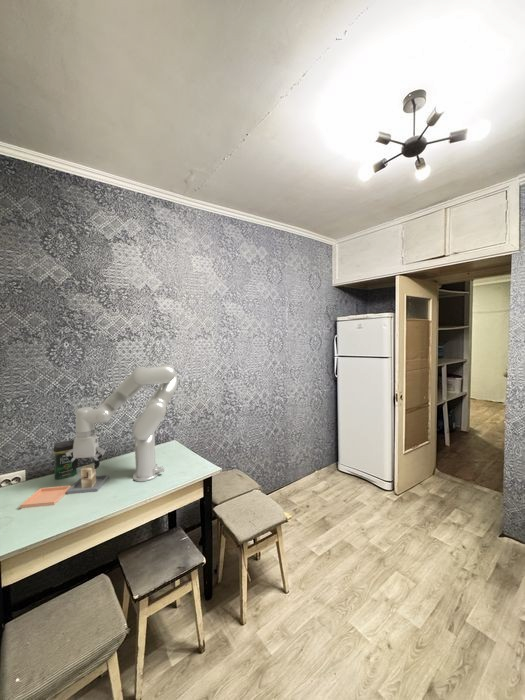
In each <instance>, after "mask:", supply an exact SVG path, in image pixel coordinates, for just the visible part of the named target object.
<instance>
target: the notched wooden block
mask: <svg viewBox="0 0 525 700" xmlns="http://www.w3.org/2000/svg"><path fill="white" fill-rule="evenodd" d="M96 470H97V469H94V464H89V465H84V466H83V467H82V468H80V478H81V483H82V488H90V487H93V486H94V484H95V483H96V476H97V472H96Z"/></svg>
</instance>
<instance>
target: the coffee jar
mask: <svg viewBox="0 0 525 700" xmlns="http://www.w3.org/2000/svg"><path fill="white" fill-rule="evenodd" d="M73 444H74V439H72V440H65V441H61V442H60V441H59V442H55V444H54V448H53V454H54V456H55V465H54V479H55V480H57V481H59V480H64V479H68V478H73V477H75V476H76V475H77V474H78V467H77V468H76V469H75V470H73V468H72V462H71V460H70V459H68V456H67V455H66V452H68V451H70V450H72V449H73ZM71 455H72V456H73V452H72V453H71Z"/></svg>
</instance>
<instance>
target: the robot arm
mask: <svg viewBox="0 0 525 700" xmlns="http://www.w3.org/2000/svg"><path fill="white" fill-rule="evenodd" d="M150 385H151V386H152V385H159V386H158V388H156V391H155V393H153V395H152V397H150V399H149V400H148V401H147V404H146V407H145V410H144V411H143V412H142V414H141V415H139V416H138V417H137V418H136V419H135V420H134V423H133V428H132V434H133V437H134V455H135V456H134V457H135V458H134V459H135V460H134V461H135V472H134V473H133V475H132V479H133V480H134V481H135V482H147V481H151V480H153V479H155V478H157V477H158V476H159V475H160V473H164V472H165V467H163V466H158V463H156V462H157V461H156V441H155V439H156V438H155V437H156V436H155V432H156V429H158V427H159V425H160V424H161V422H162V421H163V419H164V417H165V415H166V412H167V406H168V405H169V402H170V401H171V399H172V398H173V396H174V394H175V392H176V390H177V387H178V375H177V372H176V370H175V368H174V367H173V366H172V365H170V364H165V363H164V364H162V365H161V366H153V367H152V366H151V367H147V366H143V365H142V366H139V367H137V368H135V370H134V371H132V372H131V373H130V374H129V375H128V377H126V378H125V380H123V381H122V382H121V383H120V384H119V385H118V386H117V387H116V388H115V390H114V391H113V392H112V393H111V394H110V395H109V397H107V399H105V400H104V401H103V402H102V403H101V404H100V405H99V406H98V408H95V409H94V407H91V406H85V407H80V408H78V409H77V410H76V411H75V432H76V434H75V437H74V439H73V440H74V444H73V449H72V450H70V451H68V452H66V455H67V456H68V459H70V460H71V462H72V468H73V470H75V469H76V468H77V469H78V465H79V463H78V459H87V458H93V459H94V464H93V465H94V469H95V470H97V469H98V468H99V467H100V462H101V460H100V459H102V457H103V456H104V454H105V453H106V450H105V449H103V448H102V447H100V445H99V439H98V435H97V434H98V433H99V431H98V430H96V428H95V424H106V423H108V422H109V421H110V420H111V418H112V416H113V415H114V413H115V412H116V411H117V410H118V409H119V408H121V406H122V405H124V403H126V402H127V401H129V400H131V399H132V398H134V396H135V395H136V394H137V393H138V392H139V391H140V390H141V389H142V388H143V387H144V386H150ZM72 452H73V456H72V455H71V453H72Z"/></svg>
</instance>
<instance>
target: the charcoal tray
mask: <svg viewBox="0 0 525 700" xmlns="http://www.w3.org/2000/svg"><path fill="white" fill-rule="evenodd" d="M109 478H110V474H100V475H96V483H95V484H94V486H93V487H90V488H82V483H81V477H80V478H79V479H77V480H76V482H74V483H73V485H71V488H70V489H68V490H67V493H66V495H74V494H85V493H96V492H99V491H100V489H101V488H102V487H103V485H104V484H105V483H106V482H107V480H108V479H109Z"/></svg>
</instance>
